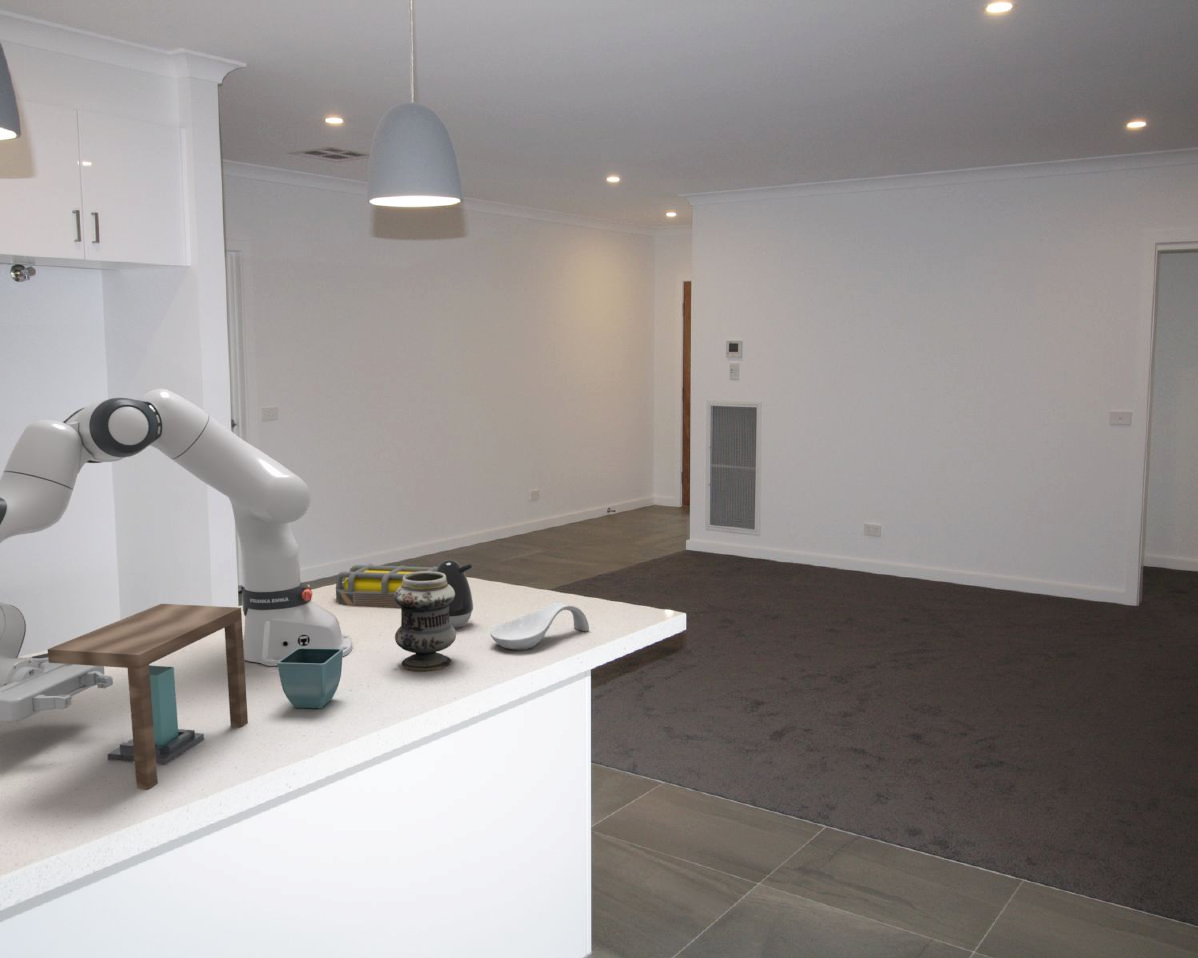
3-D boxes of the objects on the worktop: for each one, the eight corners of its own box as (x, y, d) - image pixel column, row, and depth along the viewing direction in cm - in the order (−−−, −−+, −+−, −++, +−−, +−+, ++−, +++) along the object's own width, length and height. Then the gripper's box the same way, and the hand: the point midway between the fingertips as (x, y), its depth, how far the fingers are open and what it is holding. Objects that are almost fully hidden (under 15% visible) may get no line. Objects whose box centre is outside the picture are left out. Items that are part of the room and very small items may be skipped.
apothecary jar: (437, 676, 192) (434, 584, 190) (383, 669, 197) (380, 579, 194) (467, 657, 204) (465, 571, 201) (416, 651, 208) (413, 566, 206)
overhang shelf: (58, 780, 148) (47, 649, 145) (169, 716, 173) (161, 603, 170) (148, 789, 144) (138, 654, 142) (247, 722, 170) (241, 607, 167)
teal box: (134, 746, 157) (129, 673, 156) (151, 737, 161) (145, 665, 160) (163, 749, 156) (157, 675, 155) (178, 739, 160) (173, 666, 158)
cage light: (440, 578, 240) (324, 574, 245) (441, 610, 241) (325, 605, 246) (460, 565, 254) (350, 561, 260) (461, 595, 255) (351, 591, 261)
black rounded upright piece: (467, 632, 221) (465, 565, 219) (422, 631, 223) (419, 564, 221) (479, 620, 231) (478, 555, 229) (436, 618, 233) (434, 554, 231)
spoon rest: (513, 659, 203) (512, 624, 202) (479, 646, 212) (478, 613, 211) (599, 635, 219) (599, 603, 218) (565, 624, 228) (564, 594, 227)
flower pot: (278, 711, 175) (275, 662, 173) (300, 694, 183) (297, 646, 182) (326, 714, 173) (324, 663, 172) (346, 696, 182) (343, 648, 181)
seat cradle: (108, 759, 155) (107, 747, 155) (149, 734, 165) (148, 723, 164) (165, 764, 153) (164, 752, 153) (204, 739, 163) (203, 727, 162)
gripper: (-40, 688, 152) (38, 694, 149) (59, 649, 172) (129, 653, 169) (-36, 728, 153) (42, 735, 150) (62, 684, 173) (132, 689, 170)
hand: (89, 691), depth 160 cm, fingers open, 8 cm apart
